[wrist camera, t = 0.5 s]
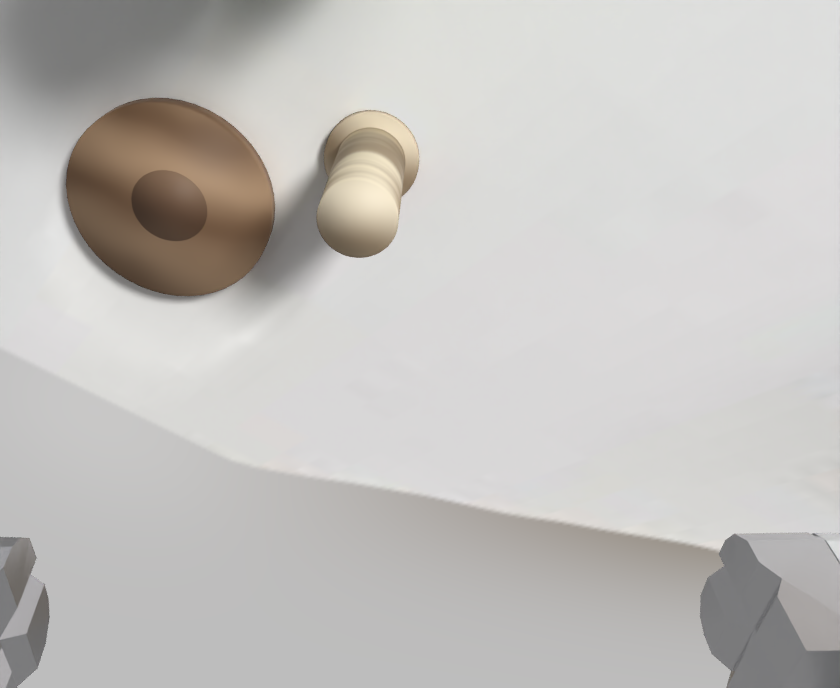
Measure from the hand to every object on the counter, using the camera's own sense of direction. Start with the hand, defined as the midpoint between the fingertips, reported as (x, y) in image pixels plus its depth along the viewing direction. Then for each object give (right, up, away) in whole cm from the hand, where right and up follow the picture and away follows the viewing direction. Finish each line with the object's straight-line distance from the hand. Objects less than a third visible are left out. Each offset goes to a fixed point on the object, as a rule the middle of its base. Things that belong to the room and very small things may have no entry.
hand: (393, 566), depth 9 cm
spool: (-3, +15, +44) cm, 47 cm away
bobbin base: (-17, +13, +46) cm, 51 cm away
